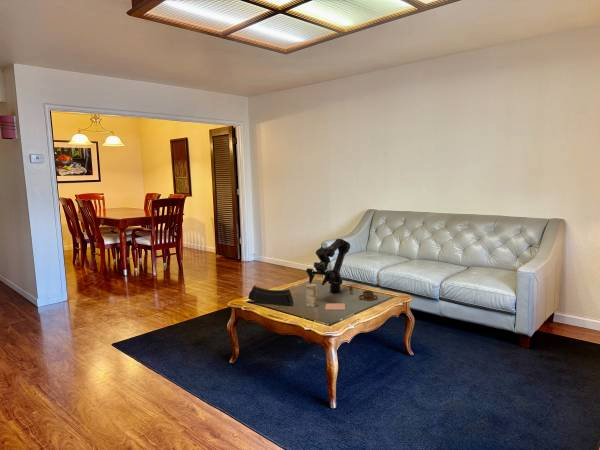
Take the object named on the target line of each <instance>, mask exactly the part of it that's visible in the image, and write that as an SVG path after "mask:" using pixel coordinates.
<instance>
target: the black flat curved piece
mask: <svg viewBox="0 0 600 450" xmlns="http://www.w3.org/2000/svg"><path fill="white" fill-rule="evenodd" d="M247 297H248V300H249V301H252V302H253V303H259V304H264V305H272V304H273V305H274V306H282V305H283V306H284V305H294V299H293V296H292V293H291V290H290V288H288V289H284V290H283V289H279V290H277V289H267V288H262V287H260V286H256V285H253V286H252V287H251V290H250V291H249V293H248V296H247ZM273 305H272V306H273Z"/></svg>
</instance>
